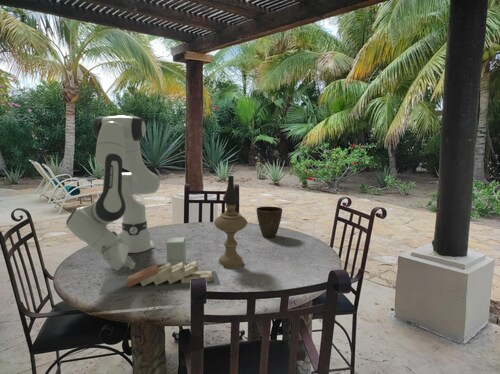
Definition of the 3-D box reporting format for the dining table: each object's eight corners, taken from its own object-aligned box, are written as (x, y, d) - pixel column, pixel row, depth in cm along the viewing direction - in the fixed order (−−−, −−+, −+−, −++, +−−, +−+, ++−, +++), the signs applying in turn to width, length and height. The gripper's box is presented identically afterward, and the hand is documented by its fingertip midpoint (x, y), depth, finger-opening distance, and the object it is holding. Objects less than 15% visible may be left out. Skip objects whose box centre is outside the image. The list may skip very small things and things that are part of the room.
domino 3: (154, 275, 144) (182, 261, 146) (156, 279, 144) (184, 265, 146) (153, 281, 138) (182, 267, 140) (155, 285, 139) (184, 271, 140)
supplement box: (186, 264, 164) (186, 237, 162) (184, 270, 156) (183, 242, 154) (170, 264, 163) (169, 237, 162) (166, 270, 156) (166, 242, 154)
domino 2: (141, 275, 143) (169, 262, 145) (143, 280, 143) (171, 266, 145) (140, 282, 137) (169, 267, 139) (142, 286, 138) (171, 272, 139)
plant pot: (251, 234, 213) (252, 207, 211) (274, 231, 220) (274, 205, 217) (263, 241, 200) (263, 212, 198) (286, 237, 206) (287, 210, 204)
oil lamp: (217, 271, 156) (216, 178, 150) (211, 259, 170) (210, 174, 164) (251, 267, 160) (252, 177, 154) (242, 256, 174) (243, 173, 168)
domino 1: (127, 277, 142) (156, 263, 144) (130, 281, 142) (158, 267, 144) (125, 283, 136) (155, 268, 138) (128, 287, 137) (158, 273, 138)
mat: (105, 281, 144) (105, 279, 144) (215, 273, 154) (215, 271, 154) (98, 296, 131) (98, 294, 131) (220, 286, 140) (220, 284, 140)
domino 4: (167, 273, 145) (195, 260, 147) (169, 278, 146) (197, 264, 147) (167, 279, 139) (196, 265, 141) (170, 284, 140) (198, 270, 141)
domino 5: (180, 272, 146) (210, 270, 149) (181, 277, 147) (210, 275, 149) (181, 278, 140) (212, 276, 143) (181, 283, 141) (212, 281, 143)
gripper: (106, 245, 125) (137, 270, 129) (115, 230, 145) (141, 252, 149) (93, 258, 125) (124, 283, 129) (103, 241, 145) (130, 263, 148)
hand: (133, 266), depth 139 cm, fingers closed
